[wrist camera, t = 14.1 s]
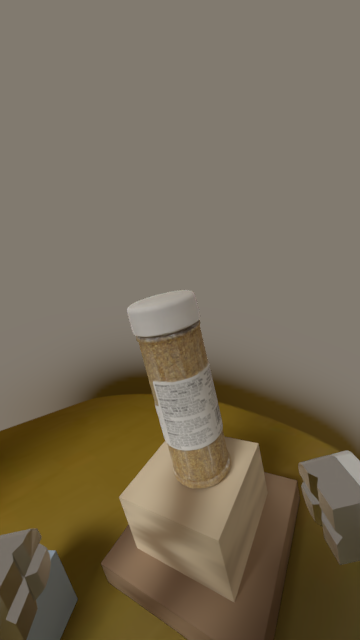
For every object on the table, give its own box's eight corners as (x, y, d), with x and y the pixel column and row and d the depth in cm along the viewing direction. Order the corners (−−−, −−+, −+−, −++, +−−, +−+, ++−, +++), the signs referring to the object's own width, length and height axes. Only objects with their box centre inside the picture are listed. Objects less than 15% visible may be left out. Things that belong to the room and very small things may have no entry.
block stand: (108, 582, 21) (80, 512, 19) (185, 465, 30) (171, 411, 29) (263, 693, 14) (240, 600, 12) (299, 498, 24) (289, 431, 22)
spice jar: (183, 444, 23) (143, 295, 20) (236, 446, 22) (201, 284, 19) (165, 490, 19) (111, 311, 16) (228, 496, 18) (182, 299, 14)
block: (-35, 693, 17) (-71, 639, 16) (24, 593, 21) (0, 547, 20) (30, 708, 16) (-4, 652, 14) (78, 600, 20) (55, 550, 19)
